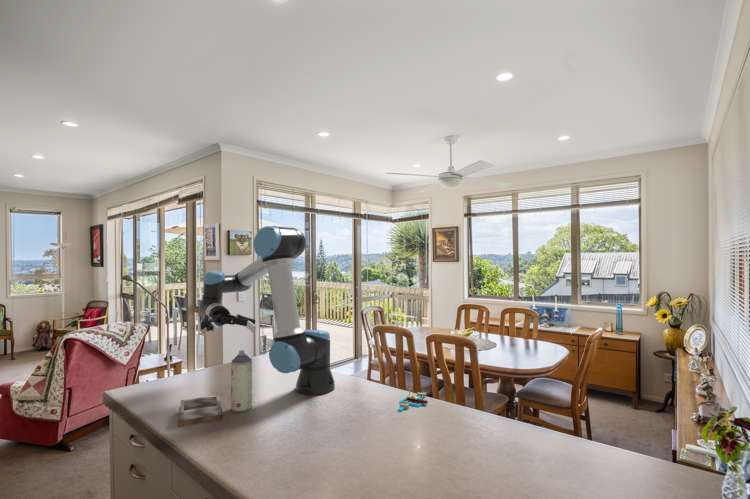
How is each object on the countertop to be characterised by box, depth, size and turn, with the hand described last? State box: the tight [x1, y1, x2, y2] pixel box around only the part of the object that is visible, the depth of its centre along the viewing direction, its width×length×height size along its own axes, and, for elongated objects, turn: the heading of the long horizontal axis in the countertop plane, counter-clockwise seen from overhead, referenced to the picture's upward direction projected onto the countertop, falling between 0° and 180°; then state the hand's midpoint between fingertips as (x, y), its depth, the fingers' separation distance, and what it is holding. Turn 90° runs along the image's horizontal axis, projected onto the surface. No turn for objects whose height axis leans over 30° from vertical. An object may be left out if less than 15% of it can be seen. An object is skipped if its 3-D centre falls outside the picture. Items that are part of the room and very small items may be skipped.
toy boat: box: [397, 387, 429, 413], centre depth 144 cm, size 20×5×9 cm
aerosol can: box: [230, 349, 253, 414], centre depth 139 cm, size 7×7×20 cm
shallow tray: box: [177, 394, 224, 427], centre depth 133 cm, size 13×13×4 cm
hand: (236, 330), depth 146 cm, fingers open, 13 cm apart
